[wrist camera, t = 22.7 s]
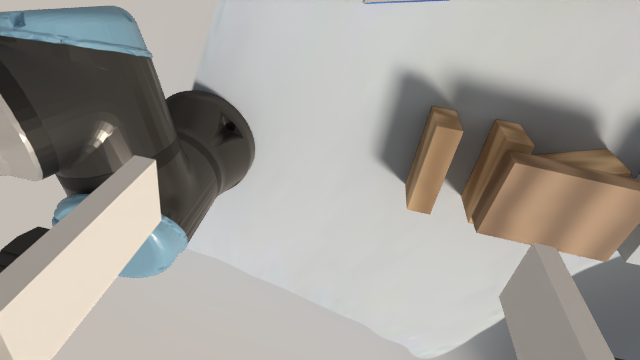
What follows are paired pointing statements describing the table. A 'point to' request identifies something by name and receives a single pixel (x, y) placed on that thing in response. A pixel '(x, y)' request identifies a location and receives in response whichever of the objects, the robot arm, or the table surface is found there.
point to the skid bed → (439, 153)
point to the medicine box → (394, 1)
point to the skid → (592, 160)
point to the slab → (558, 206)
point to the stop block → (631, 245)
